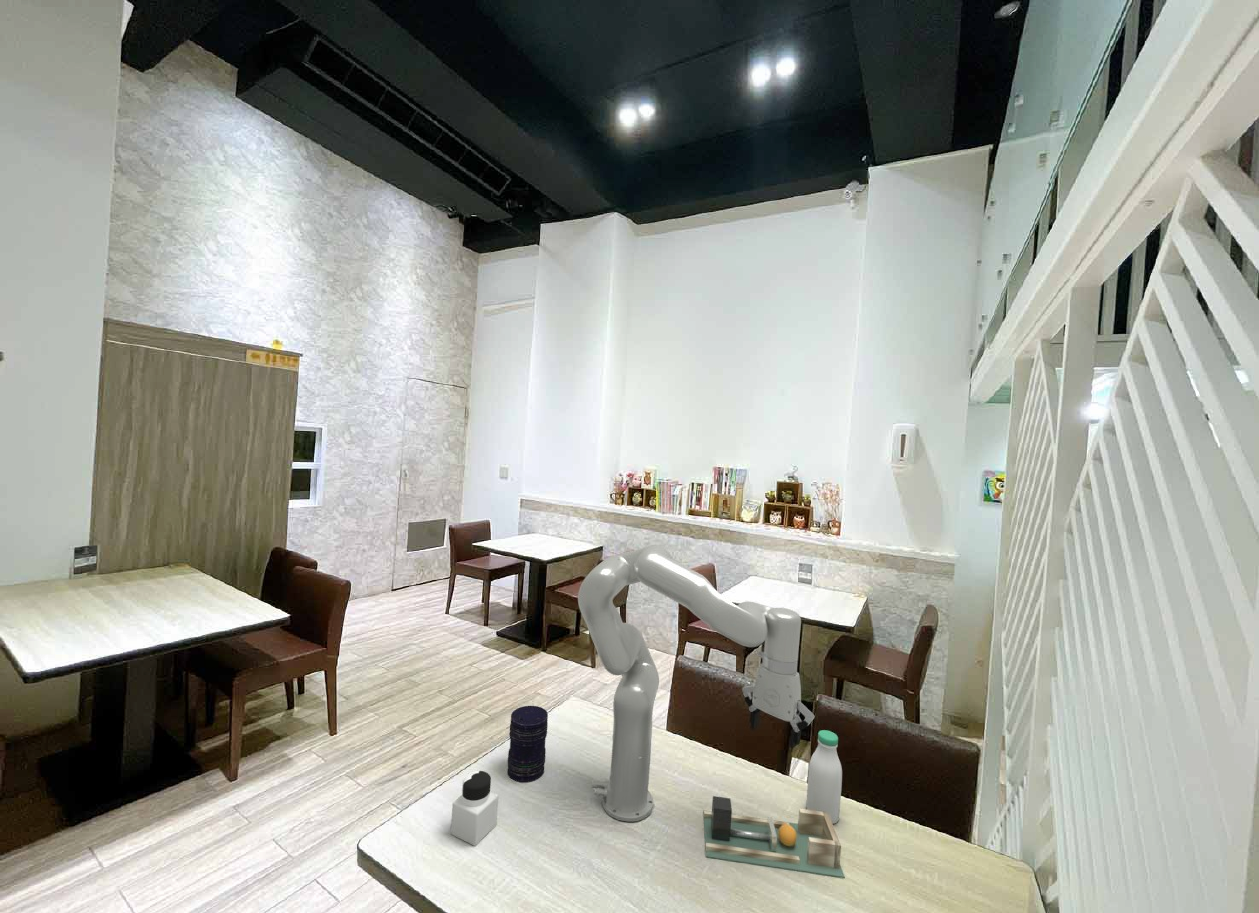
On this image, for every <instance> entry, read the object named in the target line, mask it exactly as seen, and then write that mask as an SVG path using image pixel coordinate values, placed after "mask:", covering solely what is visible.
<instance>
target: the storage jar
mask: <svg viewBox="0 0 1259 913" xmlns="http://www.w3.org/2000/svg"><path fill="white" fill-rule="evenodd" d="M548 718H549V713H548V711H547V710H546V709H545V708H543V707H541V706H537V705H523V706H520V707H517V708H516V709H514V710H512V712H511V714H510V723H509V734H508V735H509V749H508V754H507V776H508V778H509V779H510V780H512V781H513V782H517V783H521V784H522V783H523V784H524V783H525V784H526V783H531V782H532V783H533V782H535V781H537V780H539V779H540V778H541V777H542V776H543V775H544V773H545V764H546V757H547V756H546V754H547V752H546V738H547V735H548V727H549V726H548V724H549V723H548Z"/></svg>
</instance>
